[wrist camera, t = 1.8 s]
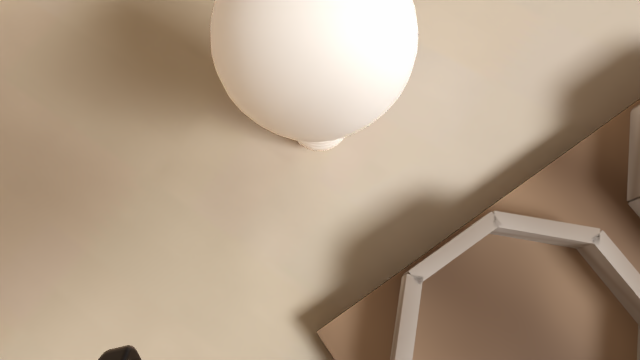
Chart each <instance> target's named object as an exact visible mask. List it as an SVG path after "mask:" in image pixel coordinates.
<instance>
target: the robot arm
mask: <svg viewBox="0 0 640 360" xmlns="http://www.w3.org/2000/svg"><path fill="white" fill-rule="evenodd" d="M98 360H141V358H140V356H139V354H138V352H137V350H136V349H135V348H134V347H133V346H130V345H127V346H123V347H119V348H114V349H110V350H108V351H106V352H104V353H103V354H102V355H101V357H100V358H99V359H98Z"/></svg>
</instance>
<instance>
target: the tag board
mask: <svg viewBox="0 0 640 360" xmlns="http://www.w3.org/2000/svg"><path fill="white" fill-rule="evenodd" d="M317 334H318V335H319V337H320V338H321V340H322V341H323V343H324V344H325V346H326V347H327V349H328V350H329V352H330V353H331V355H332V356H333V358H334V359H335V360H640V99H639V100H638V101H636V102H635V103H634V104H632V105H631V106H629V107H628V108H627V109H625V110H624V111H622V112H621V113H620V114H618V115H617V116H616V117H614V118H613V119H611V120H610V121H609V122H607V123H606V124H604V125H603V126H602V127H600V128H599V129H597V130H596V131H595V132H593V133H592V134H591V135H589V136H588V137H586V138H585V139H584V140H582V141H581V142H579V143H578V144H577V145H575V146H574V147H572V148H571V149H570V150H568V151H567V152H566V153H564V154H563V155H561V156H560V157H559V158H557V159H556V160H554V161H553V162H552V163H550V164H549V165H547V166H546V167H545V168H543V169H542V170H541V171H539V172H538V173H536V174H535V175H534V176H532V177H531V178H529V179H528V180H527V181H525V182H524V183H522V184H521V185H520V186H518V187H517V188H515V189H514V190H513V191H511V192H510V193H509V194H507V195H506V196H504V197H503V198H502V199H500V200H499V201H497V202H496V203H495V204H493V205H492V206H490V207H489V208H488V209H486V210H485V211H484V212H482V213H481V214H479V215H478V216H477V217H475V218H474V219H472V220H471V221H470V222H468V223H467V224H465V225H464V226H463V227H461V228H460V229H459V230H457V231H456V232H454V233H453V234H452V235H450V236H449V237H447V238H446V239H445V240H443V241H442V242H440V243H439V244H438V245H436V246H435V247H434V248H432V249H431V250H429V251H428V252H427V253H425V254H424V255H422V256H421V257H420V258H418V259H417V260H415V261H414V262H413V263H411V264H410V265H409V266H407V267H406V268H404V269H403V270H402V271H400V272H399V273H397V274H396V275H395V276H393V277H392V278H390V279H389V280H388V281H386V282H385V283H384V284H382V285H381V286H379V287H378V288H377V289H375V290H374V291H372V292H371V293H370V294H368V295H367V296H365V297H364V298H363V299H361V300H360V301H359V302H357V303H356V304H354V305H353V306H352V307H350V308H349V309H347V310H346V311H345V312H343V313H342V314H340V315H339V316H338V317H336V318H335V319H334V320H332V321H331V322H329V323H328V324H327V325H325V326H324V327H322V328H321V329H320V330H318V331H317Z"/></svg>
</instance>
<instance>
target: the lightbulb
mask: <svg viewBox="0 0 640 360" xmlns="http://www.w3.org/2000/svg"><path fill="white" fill-rule="evenodd" d="M210 36H211V54H212V58H213V62H214V65H215V69H216V72H217V75H218V77H219V79H220V81H221V83H222V85H223V86H224V88H225V90H226V92H227V94H228V96H229V97H230V99H231V100H232V101H233V102H234V103H235V105H236V106H237V107H238V108H239V109H240V111H241V112H243V113H244V114H245V115H247V116H248V117H249V118H250V119H252V120H253V121H254V122H255V123H257V124H258V125H260V126H261V127H263V128H265V129H267V130H269V131H271V132H273V133H275V134H277V135H279V136H282V137H286V138H289V139H293V140H297V141H298V143H300V144H301V145H302V146H304V147H306V148H307V149H310V150H315V151H324V150H328V149H331V148H333V147H335V146H337V145H338V144H339V143H340V142H341V141H342V140H343V139H344V137H346V136H350V135H352V134H354V133H356V132H358V131H360V130H362V129H364V128H366V127H368V126H369V125H370V124H372V123H373V122H374V121H376V120H377V119H378V118H379V117H381V116H382V115H383V114H384V113H385V112H386V111H388V109H389V108H390V107H391V106H392V105H393V104H394V102H395V101H396V100H397V99H398V98H399V96H400V95H401V93H402V91H403V90H404V88H405V86H406V84H407V82H408V80H409V78H410V75H411V72H412V69H413V65H414V62H415V58H416V55H417V46H418V24H417V18H416V11H415V6H414V3H413V1H412V0H215V3H214V6H213V11H212V17H211V23H210Z"/></svg>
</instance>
